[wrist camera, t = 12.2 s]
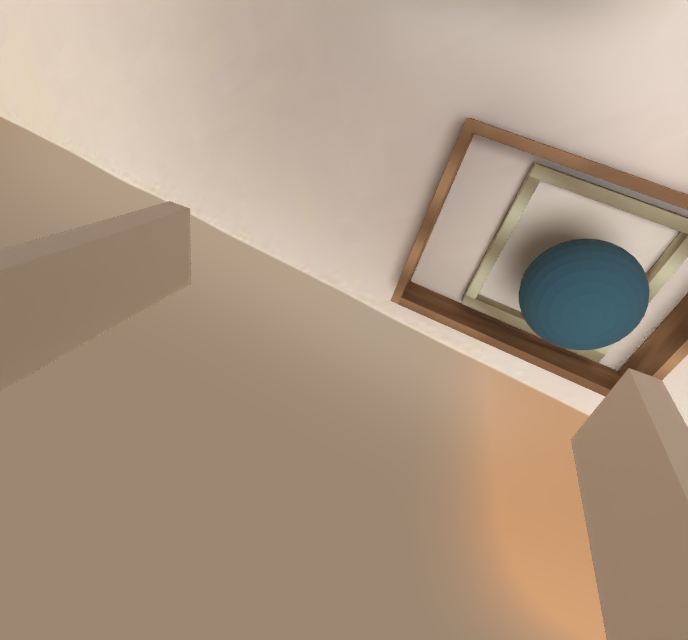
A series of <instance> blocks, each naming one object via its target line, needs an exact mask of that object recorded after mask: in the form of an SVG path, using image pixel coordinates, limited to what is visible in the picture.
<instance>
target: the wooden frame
mask: <svg viewBox="0 0 688 640" xmlns="http://www.w3.org/2000/svg"><path fill="white" fill-rule="evenodd" d="M474 133H475V134H478V135H480V136H483V137H486V138H489V139H491V140H494V141H497V142H500V143H503V144H505V145H508V146H511V147H514V148H517V149H519V150H522V151H525V152H528V153H531V154H533V155H536V156H539V157H542V158H545V159H547V160H550V161H553V162H556V163H558V164H561V165H564V166H567V167H570V168H572V169H575V170H578V171H581V172H584V173H586V174H589V175H592V176H595V177H598V178H600V179H603V180H606V181H609V182H612V183H614V184H617V185H620V186H623V187H625V188H628V189H631V190H634V191H637V192H639V193H642V194H645V195H648V196H651V197H653V198H656V199H659V200H662V201H665V202H667V203H670V204H673V205H676V206H679V207H681V208H684V209H687V210H688V194H685V193H682V192H679V191H676V190H673V189H670V188H668V187H665V186H662V185H659V184H656V183H653V182H651V181H648V180H645V179H642V178H639V177H636V176H634V175H631V174H628V173H625V172H622V171H619V170H617V169H614V168H611V167H608V166H605V165H602V164H600V163H597V162H594V161H591V160H588V159H585V158H582V157H580V156H577V155H574V154H571V153H568V152H565V151H563V150H560V149H557V148H554V147H551V146H548V145H546V144H543V143H540V142H537V141H534V140H531V139H529V138H526V137H523V136H520V135H517V134H514V133H512V132H509V131H506V130H503V129H500V128H497V127H494V126H492V125H489V124H486V123H483V122H480V121H477V120H475V119H472V118H466V120H465V123H464V125H463V127H462V130H461V132H460V135H459V137H458V139H457V142H456V144H455V147H454V149H453V152H452V154H451V156H450V159H449V161H448V164H447V166H446V168H445V171H444V173H443V176H442V178H441V180H440V183H439V185H438V188H437V190H436V193H435V195H434V197H433V200H432V202H431V205H430V207H429V209H428V212H427V214H426V217H425V219H424V222H423V224H422V226H421V229H420V231H419V234H418V236H417V238H416V241H415V243H414V246H413V248H412V250H411V253H410V255H409V258H408V260H407V263H406V265H405V267H404V270H403V272H402V275H401V277H400V279H399V282H398V284H397V287H396V289H395V292H394V294H393V296H392V299H391V301H392V302H394V303H397V304H399V305H401V306H403V307H406V308H408V309H410V310H412V311H415V312H417V313H419V314H421V315H424V316H426V317H428V318H430V319H433V320H435V321H437V322H439V323H442V324H444V325H446V326H448V327H451V328H453V329H455V330H457V331H460V332H462V333H464V334H466V335H469V336H471V337H473V338H475V339H478V340H480V341H482V342H484V343H487V344H489V345H491V346H493V347H496V348H498V349H500V350H502V351H504V352H507V353H509V354H511V355H513V356H516V357H518V358H520V359H522V360H525V361H527V362H529V363H531V364H534V365H536V366H538V367H540V368H543V369H545V370H547V371H549V372H552V373H554V374H556V375H558V376H561V377H563V378H565V379H567V380H570V381H572V382H574V383H576V384H579V385H581V386H583V387H585V388H588V389H590V390H592V391H594V392H597V393H599V394H601V395H603V396H607V394H608V393H609V392H610V391H611V389H612V388H613V387H614V386H615V384H616V383H617V382H618V381H619V380H620V378H621V377H622V376H623V375H624V373H625V372H626V371H627V370H628V368H630V369H633V370H636V371H638V372H641V373H644V374H647V375H650V376H652V377H655V378H658V379H661V380H663V379H664V378H665V377H666V376H667V375H668V374H669V373H670V372H671V371H672V370H673V369H674V368H675V367H676V366H677V365H678V364H679V363H680V362H681V361H682V360H683V359H684V357H685V356H686V355H687V354H688V294H687V295H686V296H685V297H684V299H683V300H682V301H681V302H680V303H679V304H678V305H677V306H676V307H675V309H674V310H673V311H672V312H671V313H670V314H669V315H668V316H667V318H666V319H665V320H664V321H663V322H662V323H661V324H660V325H659V326H658V328H657V329H656V330H655V331H654V332H653V333H652V334H651V335H650V337H649V338H648V339H647V340H646V341H645V342H644V343H643V344H642V345H641V347H640V348H639V349H638V350H637V351H636V352H635V353H634V354H633V356H632V357H631V358H630V359H629V360H628V361H627V362H626V363H625V364H624V366H623V367H622V368H621V369H620V370H619V371H615V370H613V369H611V368H609V367H606V366H604V365H602V364H599V363H597V362H599V361H600V360H601V359H602V358H603V357H604V355H605V354H606V353H607V352H608V351H609V349H610V348H611V347H612V346H613V345H614V343H613V344H611V345H609V346H606V347H603V348H599V349H593V350H572V349H568V350H567V349H565V348H561V347H558V346H555V345H553V344H551V343H549V342H547V341H545V340H544V339H542V338H539V337H540V336H538V335H537V334H536V333H535V332H534V331H533V330H532V329H531V328H530V327H529V325H528V324H527V323H526V321H525V319H524V317H523V315H522V313H521V312H518V311H516V310H514V309H511V308H509V307H507V306H504V305H502V304H500V303H497V302H495V301H493V300H490V299H488V298H486V297H483V296H481V295H479V294H478V293H479V291H480V289H481V287H482V285H483V284H484V282H485V280H486V278H487V276H488V275H489V273H490V271H491V269H492V267H493V266H494V264H495V262H496V260H497V258H498V257H499V255H500V253H501V251H502V249H503V247H504V246H505V244H506V242H507V240H508V238H509V237H510V235H511V233H512V231H513V229H514V228H515V226H516V224H517V222H518V220H519V218H520V217H521V215H522V213H523V211H524V209H525V208H526V206H527V204H528V202H529V200H530V199H531V197H532V195H533V193H534V191H535V190H536V188H537V186H538V184H539V182H540V180H542V181H545V182H547V183H550V184H553V185H555V186H558V187H561V188H564V189H566V190H569V191H572V192H574V193H577V194H580V195H583V196H585V197H588V198H591V199H594V200H596V201H599V202H602V203H604V204H607V205H610V206H613V207H615V208H618V209H621V210H623V211H626V212H629V213H632V214H634V215H637V216H640V217H642V218H645V219H648V220H651V221H653V222H656V223H659V224H662V225H664V226H667V227H670V228H672V229H675V230H678V231H681V232H680V233H679V234H678V235H677V237H676V238H675V239H674V240H673V242H672V243H671V244H670V245H669V247H668V248H667V249H666V250H665V252H664V253H663V254H662V255H661V257H660V258H659V259H658V260H657V262H656V263H655V264H654V265H653V267H652V268H651V269H650V270H649V272H648V273H647V274H646V277H647V279H648V283H649V290H650V292H649V301H648V303H649V302H650V301H651V300H652V298H653V297H654V296H655V295H656V294H657V293H658V291H659V290H660V289H661V288H662V287H663V285H664V284H665V283H666V282H667V281H668V280H669V278H670V277H671V276H672V275H673V274H674V272H675V271H676V270H677V269H678V268H679V266H680V265H681V264H682V263H683V262H684V261H685V259H686V258H687V257H688V217H685V216H682V215H679V214H677V213H674V212H671V211H668V210H666V209H663V208H660V207H657V206H654V205H652V204H649V203H646V202H643V201H641V200H638V199H635V198H632V197H630V196H627V195H624V194H621V193H618V192H616V191H613V190H610V189H607V188H605V187H602V186H599V185H596V184H594V183H591V182H588V181H585V180H582V179H580V178H577V177H574V176H571V175H569V174H566V173H563V172H560V171H558V170H555V169H552V168H549V167H547V166H544V165H541V164H538V163H535V162H534V164H533V166H532V168H531V169H530V171H529V173H528V175H527V177H526V179H525V181H524V183H523V184H522V186H521V188H520V190H519V192H518V194H517V196H516V198H515V200H514V201H513V203H512V205H511V207H510V209H509V211H508V213H507V215H506V217H505V218H504V220H503V222H502V224H501V226H500V228H499V230H498V232H497V234H496V235H495V237H494V239H493V241H492V243H491V245H490V247H489V249H488V250H487V252H486V254H485V256H484V258H483V260H482V262H481V264H480V266H479V267H478V269H477V271H476V273H475V275H474V277H473V279H472V281H471V283H470V284H469V286H468V288H467V290H466V292H465V294H464V296H463V298H462V302H461V303H462V304H461V303H458V302H456V301H454V300H452V299H449V298H447V297H445V296H442V295H440V294H438V293H435V292H433V291H431V290H428V289H426V288H424V287H422V286H419V285H417V284H415V283H412V282H410V281H411V278H412V276H413V274H414V271H415V269H416V267H417V264H418V262H419V260H420V257H421V255H422V253H423V251H424V248H425V246H426V244H427V241H428V239H429V237H430V234H431V232H432V230H433V227H434V225H435V223H436V220H437V218H438V216H439V214H440V211H441V209H442V207H443V204H444V202H445V200H446V197H447V195H448V193H449V190H450V188H451V186H452V183H453V181H454V179H455V177H456V174H457V172H458V170H459V167H460V165H461V163H462V160H463V158H464V156H465V153H466V151H467V149H468V147H469V144H470V142H471V140H472V137H473V135H474ZM463 304H464V305H463ZM465 305H467V306H465ZM468 306H469V307H468ZM470 307H471V308H470ZM472 308H474V309H472ZM475 309H476V310H475ZM477 310H478V311H477ZM479 311H481V312H479ZM482 312H483V313H482ZM484 313H485V314H484ZM486 314H487V315H486ZM488 315H490V316H488ZM491 316H492V317H491ZM493 317H494V318H493ZM495 318H497V319H495ZM498 319H499V320H498ZM500 320H501V321H500ZM502 321H504V322H502ZM505 322H506V323H505ZM507 323H508V324H507ZM509 324H511V325H509ZM512 325H513V326H512ZM514 326H515V327H514ZM516 327H517V328H516ZM518 328H520V329H518ZM521 329H522V330H521ZM523 330H524V331H523ZM525 331H527V332H525ZM528 332H529V333H528ZM530 333H531V334H530ZM532 334H534V335H532ZM535 335H536V336H535ZM537 336H538V337H537ZM569 350H571V351H569ZM572 351H573V352H572ZM574 352H575V353H574ZM576 353H578V354H580V355H578V354H576ZM581 355H582V356H581ZM583 356H584V357H583ZM585 357H587V358H585ZM588 358H589V359H588ZM590 359H591V360H590ZM592 360H594V361H592ZM595 361H596V362H595Z"/></svg>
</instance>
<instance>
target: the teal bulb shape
mask: <svg viewBox="0 0 688 640" xmlns="http://www.w3.org/2000/svg"><path fill="white" fill-rule="evenodd" d="M649 292H650V290H649V283H648V279H647V277H646V274H645V272H644V270H643V268H642V266H641V265H640V264H639V262H638V261H637V260H636V259H635V257H634V256H632V255H631V254H630V253H628V252H627V251H626V250H624V249H622V248H621V247H618V246H616V245H614V244H612V243H610V242H606V241H602V240H596V239H578V240H571V241H568V242H564V243H560V244H558V245H556V246H554V247H552V248H549V249H548V250H546V251H545V252H543V253H542V254H540V255H539V256H538V257H537V258H536V259H535V260H534V261H533V262H532V263H531V264H530V266H529V267H528V269H527V270H526V272H525V274H524V276H523V278H522V281H521V285H520V290H519V304H520V308H521V312H522V315H523V317H524V319H525V321H526V323H527V324H528V325H529V327H530V328H531V329H532V330H533V331H534V332H535V333H536V334H537V335H538V336H540V337H541V338H542V339H544V340H545V341H547V342H549V343H551V344H553V345H555V346H558V347H561V348H565V349H572V350H593V349H599V348H603V347H606V346H609V345H611V344H613V343H616V342H618V341H620V340H621V339H622V338H624V337H625V336H627V335H628V334H629V333H631V332H632V331H633V330H634V329H635V328H636V326H637V325H638V324H639V323H640V321H641V320H642V318H643V317H644V315H645V312H646V309H647V307H648V301H649Z"/></svg>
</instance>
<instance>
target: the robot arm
mask: <svg viewBox="0 0 688 640" xmlns="http://www.w3.org/2000/svg"><path fill="white" fill-rule="evenodd" d="M190 261H191V260H190V208H187V207H184V206H181V205H179V204H176V203H173V202H170V201H169V202H166V203H162V204H159V205H155V206H152V207H148V208H145V209H141V210H138V211H134V212H131V213H127V214H124V215H120V216H117V217H113V218H110V219H106V220H103V221H99V222H96V223H92V224H89V225H85V226H82V227H78V228H75V229H71V230H68V231H64V232H61V233H57V234H54V235H50V236H47V237H43V238H40V239H36V240H33V241H29V242H25V243H22V244H19V245H15V246H11V247H8V248H5V249H1V250H0V391H2V390H3V389H5V388H7V387H8V386H10V385H12V384H14V383H15V382H18V381H19V380H21V379H23V378H25V377H26V376H28V375H30V374H31V373H34V372H35V371H37V370H39V369H41V368H42V367H44V366H46V365H48V364H50V363H51V362H53V361H55V360H57V359H58V358H60V357H62V356H64V355H65V354H67V353H69V352H71V351H72V350H74V349H76V348H78V347H79V346H81V345H83V344H85V343H87V342H89V341H90V340H92V339H94V338H96V337H98V336H99V335H101V334H103V333H105V332H106V331H108V330H110V329H112V328H114V327H115V326H117V325H119V324H121V323H122V322H124V321H126V320H128V319H129V318H131V317H133V316H135V315H137V314H138V313H140V312H142V311H144V310H146V309H147V308H149V307H151V306H153V305H154V304H156V303H158V302H160V301H162V300H163V299H165V298H167V297H169V296H171V295H172V294H174V293H176V292H177V291H179V290H181V289H183V288H185V287H187V286H188V285H190V284H191V269H190V268H191V267H190V266H191V262H190ZM571 441H572V448H573V453H574V459H575V464H576V470H577V476H578V481H579V487H580V492H581V498H582V504H583V509H584V515H585V520H586V526H587V532H588V537H589V543H590V549H591V554H592V560H593V565H594V571H595V576H596V582H597V588H598V593H599V599H600V604H601V610H602V616H603V621H604V627H605V632H606V638H607V640H688V427H687V425H686V424H685V422H684V420H683V418H682V416H681V414H680V413H679V411H678V409H677V407H676V405H675V403H674V402H673V400H672V398H671V396H670V394H669V392H668V391H667V389H666V387H665V385H664V383H663V381H662V380H661V379H658V378H655V377H652V376H650V375H647V374H644V373H641V372H638V371H636V370H633V369H630V368H628V370H627V371H626V372H625V373H624V375H623V376H622V377H621V378H620V380H619V381H618V382H617V383H616V384H615V386H614V387H613V388H612V389H611V391H610V392H609V393H608V394H607V396H606V397H605V398H604V399H603V400H602V402H601V403H600V404H599V405H598V407H597V408H596V409H595V410H594V412H593V413H592V414H591V415H590V417H589V418H588V419H587V420H586V422H585V423H584V424H583V425H582V426H581V428H580V429H579V430H578V431H577V433H576V434H575V435H574V436H573V438H572V439H571Z"/></svg>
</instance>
